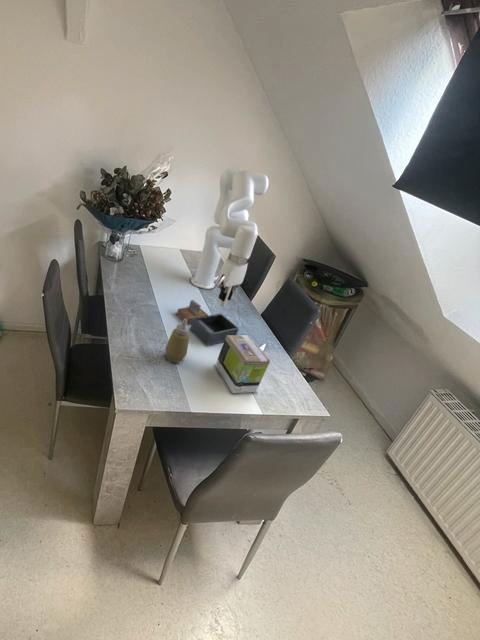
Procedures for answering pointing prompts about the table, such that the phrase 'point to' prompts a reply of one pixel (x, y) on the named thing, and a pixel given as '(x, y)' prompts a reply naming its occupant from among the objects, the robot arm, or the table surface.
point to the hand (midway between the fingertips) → (224, 298)
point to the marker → (223, 303)
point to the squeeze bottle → (178, 343)
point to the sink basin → (213, 328)
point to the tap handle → (194, 307)
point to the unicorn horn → (262, 347)
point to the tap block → (189, 314)
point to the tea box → (241, 363)
